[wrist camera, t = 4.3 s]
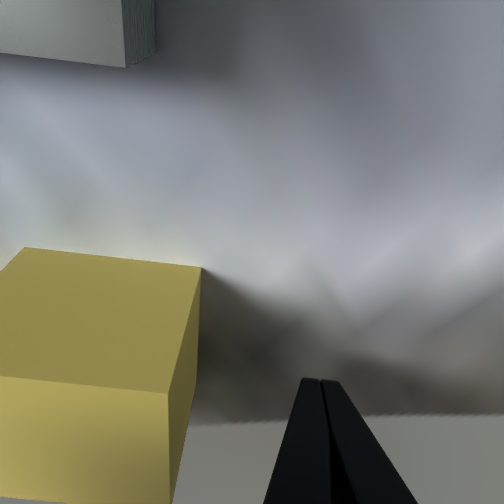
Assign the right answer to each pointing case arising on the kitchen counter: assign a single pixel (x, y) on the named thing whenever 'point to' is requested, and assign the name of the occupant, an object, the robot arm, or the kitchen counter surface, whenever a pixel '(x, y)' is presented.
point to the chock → (95, 376)
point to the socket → (79, 30)
